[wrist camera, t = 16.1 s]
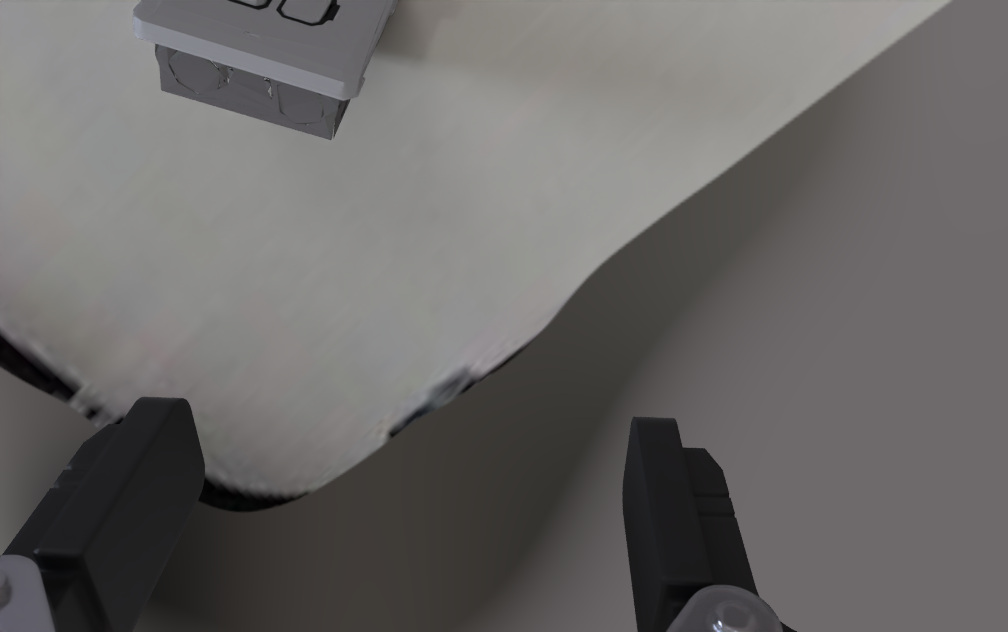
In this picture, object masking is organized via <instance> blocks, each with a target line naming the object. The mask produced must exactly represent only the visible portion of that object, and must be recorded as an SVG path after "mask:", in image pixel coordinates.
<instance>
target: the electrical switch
mask: <svg viewBox="0 0 1008 632" xmlns="http://www.w3.org/2000/svg"><path fill="white" fill-rule="evenodd" d="M397 1H398V0H141V2H140V3H139V4H138V5H137V6H136V7H135V8H134V10H133V27H134V32H135V36H136V38H139V39H143V40H146V41H149V42H152V43H155V55H156V58H157V60H158V63H159V66H160V79H161V90H162V91H165V92H169V93H172V94H175V95H179V96H182V97H186V98H189V99H193V100H196V101H199V102H203V103H206V104H210V105H213V106H216V107H220V108H223V109H227V110H230V111H233V112H237V113H240V114H244V115H247V116H250V117H254V118H257V119H261V120H264V121H267V122H271V123H274V124H278V125H281V126H284V127H288V128H291V129H295V130H298V131H302V132H305V133H308V134H312V135H315V136H319V137H322V138H325V139H329V140H331V139H332V134H333V128H334V136H335V134H336V132H337V129H338V127H339V125H340V123H341V120H342V118H343V116H344V113H345V111H346V109H347V106H348V104H349V102H350V99H351V98H355V97H358V95H359V92H360V90H361V88H362V85H363V83H364V81H365V78H364V77H363V75H364V73H365V70H366V68H367V65H368V63H369V61H370V59H371V56H372V54H373V52H374V49H375V47H376V45H377V43H378V40H379V38H380V36H381V33H382V31H383V29H384V26H385V24H386V22H387V20H388V17H389V15H390V14H391V15H393V13H394V11H395V8H396V6H397ZM210 60H211V61H212V62H213V63H214V64H215V65H216V66H217V67H218V69H217V67H216V66H215V65H214V64H213V63H212V62H211V61H210ZM229 68H233V69H229ZM174 74H175V75H176V77H177V78H175V75H174ZM227 77H228V78H229V79H230V80H229V83H228V82H227ZM265 77H266V78H267V79H266V80H264V78H265ZM268 79H269V80H268ZM219 84H220V87H219ZM270 86H271V94H272V98H271V97H270V95H269V93H268V89H269V87H270ZM194 91H195V92H194ZM196 92H197V93H199V94H197V93H196ZM334 121H335V125H334ZM306 124H309V125H306ZM333 139H334V138H333Z"/></svg>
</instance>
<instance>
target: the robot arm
mask: <svg viewBox="0 0 1008 632" xmlns="http://www.w3.org/2000/svg"><path fill="white" fill-rule="evenodd" d="M204 477H205V464H204V458H203V454H202V450H201V446H200V442H199V438H198V435H197V431H196V427H195V423H194V419H193V415H192V411H191V407H190V405H189V403H188V401H187V400H186V399H184V398H162V397H141V398H139V399H138V400H137V401H136V402H135V404H134V405H133V406H132V408H131V409H130V411H129V412H128V414H127V415H126V417H125V418H124V420H123V421H122V422H121V424H108V425H107V426H106V427H104V428H103V429H102V430H100V431H99V432H98V433H96V434H95V435H93V436H92V437H91V438H90V439H88V440H87V441H85V442H84V443H83V444H82V446H81V447H80V448H79V450H78V451H77V452H76V454H75V455H74V457H73V458H72V459H71V461H70V462H69V464H68V465H67V470H63V472H62V473H61V475H60V476H59V477H58V479H57V480H56V481H55V483H54V488H50V490H49V491H48V492H47V494H46V495H45V497H44V498H43V499H42V501H41V502H40V503H39V505H38V506H37V508H36V509H35V510H34V512H33V513H32V515H31V516H30V517H29V519H28V520H27V522H26V523H25V524H24V526H23V527H22V528H21V530H20V531H19V533H18V534H17V535H16V537H15V538H14V539H13V541H12V542H11V544H10V545H9V546H8V548H7V549H6V550H5V552H4V553H3V554H2V556H0V632H132V631H133V629H134V627H135V625H136V623H137V621H138V619H139V617H140V615H141V613H142V611H143V609H144V607H145V605H146V603H147V601H148V599H149V597H150V595H151V593H152V591H153V589H154V587H155V585H156V583H157V581H158V579H159V577H160V575H161V573H162V570H163V569H164V567H165V565H166V563H167V561H168V559H169V557H170V555H171V553H172V551H173V549H174V547H175V545H176V543H177V541H178V539H179V536H180V534H181V533H182V530H183V528H184V527H185V525H186V523H187V521H188V518H189V516H190V514H191V512H192V510H193V508H194V506H195V504H196V502H197V500H198V498H199V496H200V494H201V491H202V488H203V483H204ZM734 514H735V512H734V509H733V505H732V502H731V498H729V491H728V487H727V484H726V480H725V477H724V474H723V470H722V469H721V467H720V466H719V465H718V464H717V463H716V461H715V460H714V459H713V458H712V457H711V456H710V454H709V453H708V452H707V451H706V450H705V449H703V448H683V447H682V443H681V439H680V434H679V430H678V426H677V422H676V420H675V419H674V418H653V417H633V419H632V422H631V428H630V435H629V443H628V450H627V457H626V464H625V471H624V479H623V515H624V524H625V532H626V541H627V549H628V557H629V565H630V573H631V581H632V590H633V597H634V606H635V614H636V622H637V630H638V632H797V631H794V630H793V629H791V628H789V627H788V626H786V625H785V624H783V623H782V622H780V621H779V619H778V617H777V615H776V614H775V612H774V611H773V609H771V607H770V606H769V605H768V604H767V603H766V602H765V601H764V600H762V599H761V598H760V597H759V595H758V592H757V590H756V586H755V583H754V580H753V576H752V572H751V569H750V565H749V562H748V559H747V555H746V551H745V548H744V544H743V540H742V537H741V533H740V530H739V526H738V523H737V519H736V518H735V516H734Z"/></svg>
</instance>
